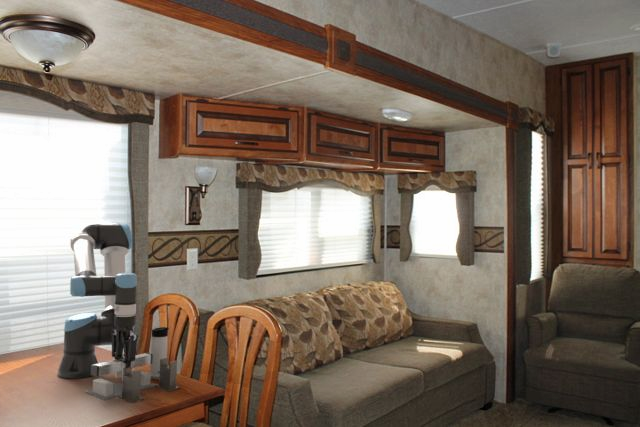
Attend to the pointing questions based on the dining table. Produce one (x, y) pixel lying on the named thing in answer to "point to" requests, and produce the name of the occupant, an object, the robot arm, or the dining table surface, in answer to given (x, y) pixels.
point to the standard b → (167, 375)
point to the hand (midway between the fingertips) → (122, 378)
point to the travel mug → (158, 349)
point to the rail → (119, 364)
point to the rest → (116, 387)
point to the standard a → (131, 385)
